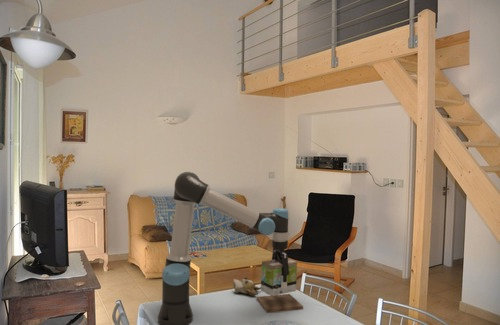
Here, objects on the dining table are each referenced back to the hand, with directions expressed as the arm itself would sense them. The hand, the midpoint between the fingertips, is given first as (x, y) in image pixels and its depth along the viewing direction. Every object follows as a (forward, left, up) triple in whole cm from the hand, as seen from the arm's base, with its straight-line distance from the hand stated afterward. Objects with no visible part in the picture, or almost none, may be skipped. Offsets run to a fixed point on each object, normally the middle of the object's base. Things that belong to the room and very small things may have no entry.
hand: (279, 284), depth 197 cm
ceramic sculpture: (-11, +19, -10) cm, 24 cm away
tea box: (0, 0, -3) cm, 4 cm away
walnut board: (0, 0, -10) cm, 10 cm away
